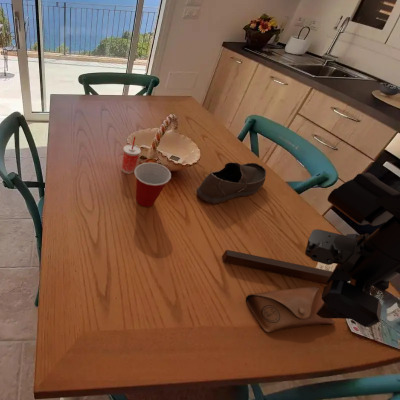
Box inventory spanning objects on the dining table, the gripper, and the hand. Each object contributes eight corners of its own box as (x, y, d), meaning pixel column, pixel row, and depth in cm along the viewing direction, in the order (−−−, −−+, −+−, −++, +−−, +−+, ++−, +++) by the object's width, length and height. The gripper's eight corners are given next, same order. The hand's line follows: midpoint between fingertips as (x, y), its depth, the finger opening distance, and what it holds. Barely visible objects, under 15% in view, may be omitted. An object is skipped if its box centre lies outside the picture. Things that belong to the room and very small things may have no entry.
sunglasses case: (268, 335, 57) (271, 307, 56) (243, 315, 64) (246, 289, 63) (338, 324, 60) (343, 297, 59) (307, 305, 67) (311, 281, 66)
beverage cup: (120, 164, 103) (126, 131, 94) (136, 166, 102) (144, 133, 93) (118, 173, 99) (125, 139, 89) (135, 176, 98) (143, 142, 88)
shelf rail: (328, 284, 68) (337, 278, 66) (222, 262, 72) (227, 255, 70) (325, 278, 70) (333, 271, 68) (221, 256, 73) (226, 249, 71)
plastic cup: (122, 193, 90) (128, 164, 82) (150, 188, 93) (158, 159, 85) (137, 216, 83) (146, 186, 75) (167, 209, 86) (178, 179, 78)
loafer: (269, 186, 98) (286, 162, 91) (216, 213, 86) (230, 188, 78) (243, 170, 104) (256, 147, 97) (190, 193, 92) (201, 168, 85)
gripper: (340, 194, 49) (291, 247, 60) (318, 249, 39) (263, 301, 50) (421, 227, 44) (351, 279, 54) (420, 302, 34) (334, 348, 44)
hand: (324, 299), depth 51 cm, fingers open, 9 cm apart
